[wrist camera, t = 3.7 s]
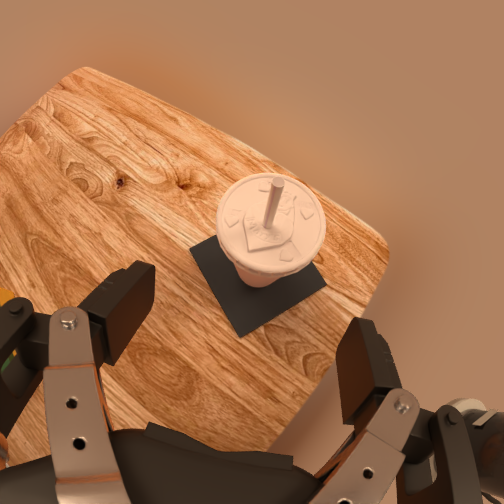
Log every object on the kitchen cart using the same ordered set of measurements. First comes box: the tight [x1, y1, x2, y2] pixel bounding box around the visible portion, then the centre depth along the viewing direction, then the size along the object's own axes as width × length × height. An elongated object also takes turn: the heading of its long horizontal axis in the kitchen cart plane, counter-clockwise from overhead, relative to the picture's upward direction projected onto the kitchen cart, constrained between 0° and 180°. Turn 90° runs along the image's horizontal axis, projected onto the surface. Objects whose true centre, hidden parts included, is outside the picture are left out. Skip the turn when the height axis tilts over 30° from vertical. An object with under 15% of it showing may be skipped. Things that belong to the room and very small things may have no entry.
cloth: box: [190, 234, 327, 337], centre depth 25 cm, size 9×9×1 cm
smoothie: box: [216, 173, 326, 287], centre depth 18 cm, size 6×6×14 cm
